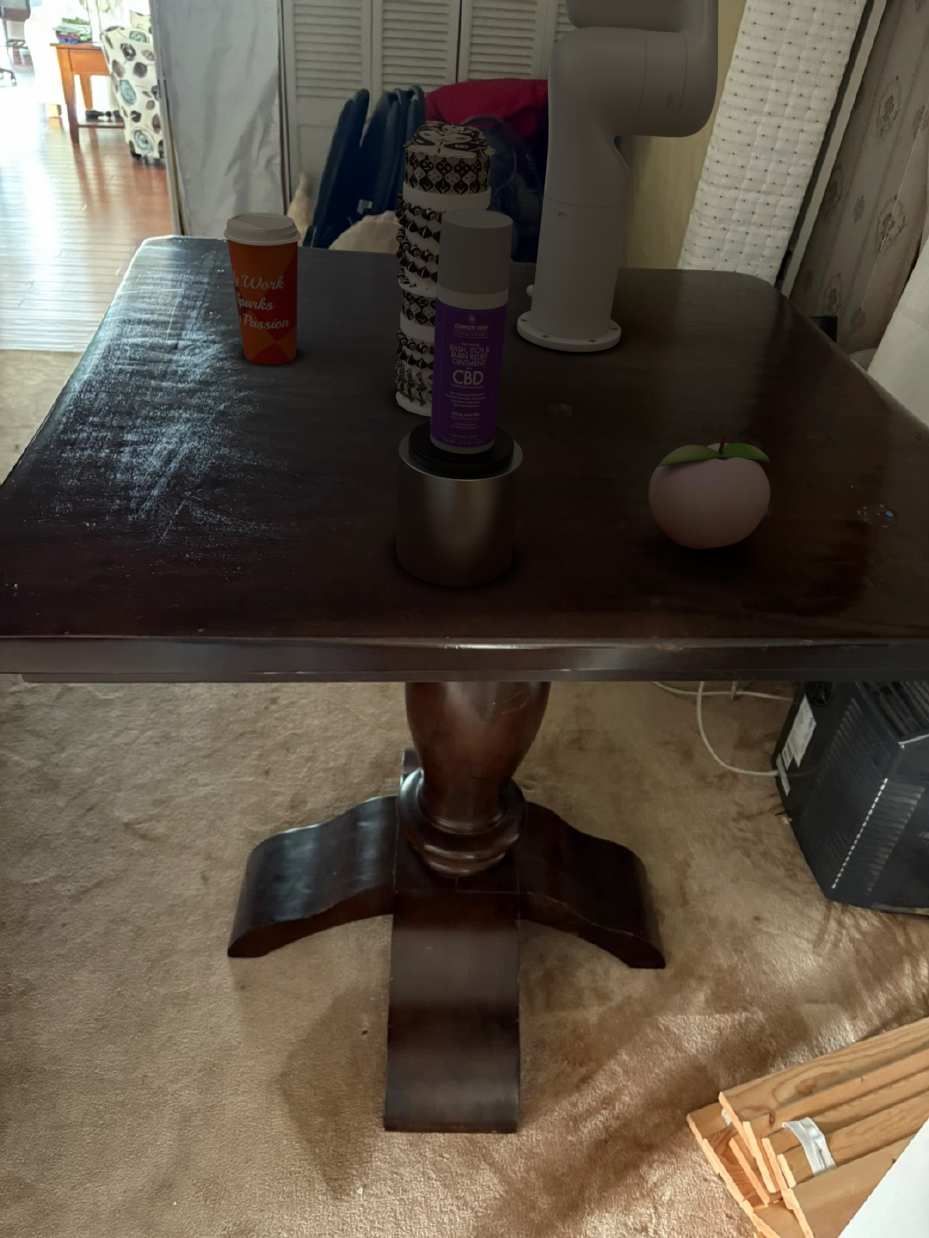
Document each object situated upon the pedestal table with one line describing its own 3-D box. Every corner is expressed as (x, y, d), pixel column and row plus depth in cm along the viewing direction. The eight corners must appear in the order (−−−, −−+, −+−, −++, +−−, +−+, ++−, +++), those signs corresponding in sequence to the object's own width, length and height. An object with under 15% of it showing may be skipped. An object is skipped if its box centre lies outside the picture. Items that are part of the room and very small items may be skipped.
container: (447, 459, 63) (461, 231, 54) (418, 430, 67) (426, 210, 57) (506, 448, 65) (529, 226, 56) (475, 421, 68) (492, 206, 59)
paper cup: (220, 359, 99) (206, 223, 91) (259, 337, 105) (249, 207, 97) (283, 374, 97) (275, 236, 89) (319, 350, 103) (315, 219, 94)
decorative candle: (373, 397, 94) (374, 123, 79) (436, 374, 100) (448, 115, 85) (436, 427, 89) (451, 143, 74) (499, 402, 95) (524, 133, 80)
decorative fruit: (678, 589, 70) (707, 472, 64) (622, 534, 76) (644, 422, 70) (776, 567, 73) (813, 454, 67) (715, 516, 79) (744, 408, 73)
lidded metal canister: (379, 535, 73) (380, 421, 67) (481, 516, 77) (490, 406, 71) (422, 597, 67) (427, 478, 61) (531, 574, 70) (546, 459, 64)
